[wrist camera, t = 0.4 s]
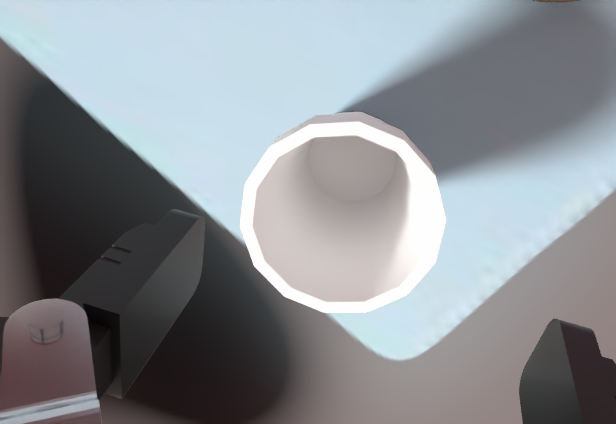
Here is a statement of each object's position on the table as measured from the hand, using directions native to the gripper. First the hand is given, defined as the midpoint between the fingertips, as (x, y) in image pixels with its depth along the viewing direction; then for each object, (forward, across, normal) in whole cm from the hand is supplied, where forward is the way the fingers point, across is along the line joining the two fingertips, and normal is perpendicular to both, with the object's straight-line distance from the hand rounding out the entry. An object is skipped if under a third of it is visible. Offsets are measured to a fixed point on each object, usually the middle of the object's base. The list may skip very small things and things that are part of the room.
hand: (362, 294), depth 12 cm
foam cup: (+24, +3, +8) cm, 25 cm away
